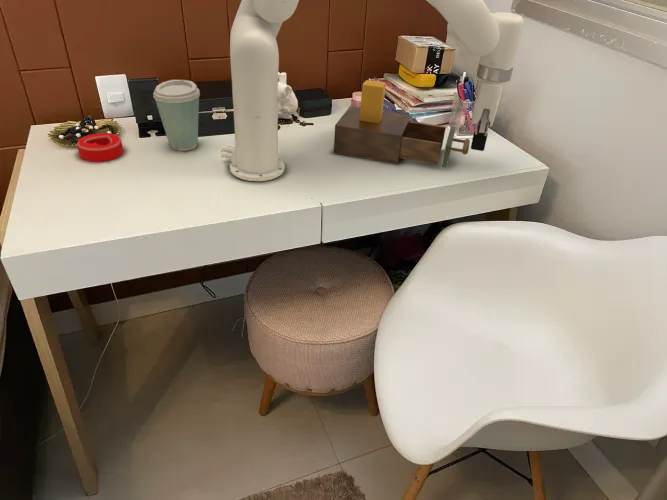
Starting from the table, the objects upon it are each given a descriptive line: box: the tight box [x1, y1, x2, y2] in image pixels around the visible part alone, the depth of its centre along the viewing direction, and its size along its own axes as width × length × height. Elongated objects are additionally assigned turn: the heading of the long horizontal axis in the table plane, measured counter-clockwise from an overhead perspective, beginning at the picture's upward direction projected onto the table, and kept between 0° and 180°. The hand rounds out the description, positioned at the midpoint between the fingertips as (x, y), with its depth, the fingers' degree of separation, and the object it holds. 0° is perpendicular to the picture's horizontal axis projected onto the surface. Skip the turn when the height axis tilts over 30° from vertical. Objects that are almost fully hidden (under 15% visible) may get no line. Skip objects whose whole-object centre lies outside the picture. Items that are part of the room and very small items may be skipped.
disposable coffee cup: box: [152, 79, 201, 152], centre depth 126 cm, size 11×11×15 cm
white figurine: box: [278, 71, 299, 120], centre depth 147 cm, size 8×7×12 cm
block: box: [359, 79, 387, 124], centre depth 130 cm, size 5×4×9 cm
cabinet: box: [333, 105, 412, 165], centre depth 134 cm, size 16×14×7 cm
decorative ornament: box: [76, 132, 124, 163], centre depth 124 cm, size 10×10×3 cm
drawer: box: [399, 120, 471, 169], centre depth 131 cm, size 20×13×6 cm
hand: (477, 148), depth 129 cm, fingers closed
